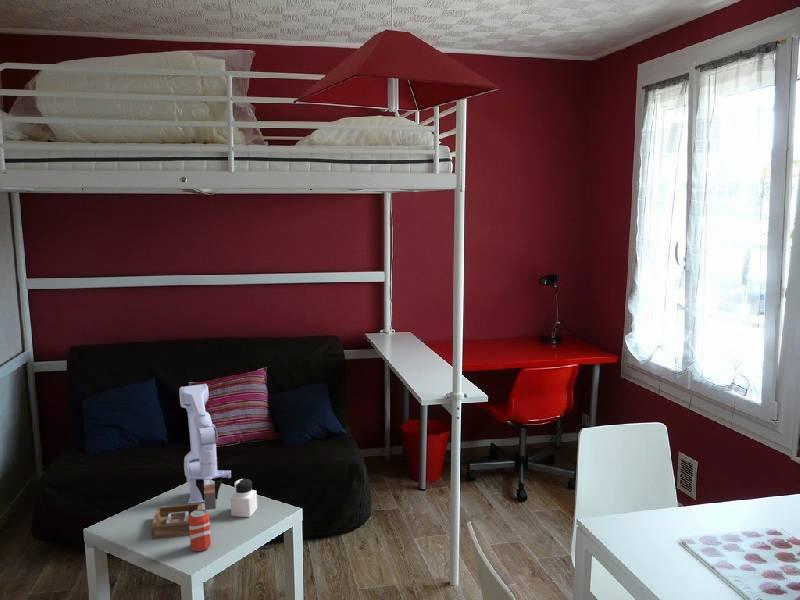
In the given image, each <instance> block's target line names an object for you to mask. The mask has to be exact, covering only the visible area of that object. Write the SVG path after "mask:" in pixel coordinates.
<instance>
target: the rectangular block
mask: <svg viewBox="0 0 800 600" xmlns="http://www.w3.org/2000/svg"><path fill="white" fill-rule="evenodd" d="M204 501H205V502H204V510H206V511H208V510H217V499H215V483H210V484H206V485H205V487H204Z"/></svg>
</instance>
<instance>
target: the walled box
mask: <svg viewBox="0 0 800 600" xmlns="http://www.w3.org/2000/svg"><path fill="white" fill-rule="evenodd" d="M199 509H203V507H202V502H200V503H190V504H189V503H187V504H177V505H165V506H158V507H157V508H156V511H155V514H154V517H153V521H152V523H151V526H150V527H151V528H150V530H151V539H153V540H154V538H155V539H162V538H163V539H164V538H173V537H180V536H188V535H189V536H190V531H189V518H190V516H191V515H190V514H191V512H193V511H195V510H199Z"/></svg>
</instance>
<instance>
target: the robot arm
mask: <svg viewBox="0 0 800 600" xmlns="http://www.w3.org/2000/svg"><path fill="white" fill-rule="evenodd" d="M178 392H179V404H180V407H181V408H184V409H186V413H187V418H188V429H189V430H188V431H189V443H190V451H189V452H188V453H187V454H186V455H185V456H184V459H183V461H184V462H183V468H184V476H185V477H186V483H189V494H190V495H189V497H188V498H189V499H188V504H194V503H205V501H204V487H205V485H206V484H211V483H210V482H211V480H213V479H214V484H215V499H216V500H218V498H219V497H218V496H219V495H218V494H219V491H220V487H221V485H222V484H223V483H222V482H223V478H227V479H231V478H232V470H224V469H223V470H221V469H220V470H218V457H217V443H218V431H217V428H216V425H215V424H213V422H212V417H211V415H210V413H209V412H207V411H206V407H205V406H206V405H207V402H208V400H209V396H210V395H209V394H210V393H209V386H208V385H207V383H203V384H195V385H187V386H186V385H185V386H180V388H179V391H178Z"/></svg>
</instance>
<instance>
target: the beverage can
mask: <svg viewBox="0 0 800 600" xmlns="http://www.w3.org/2000/svg"><path fill="white" fill-rule="evenodd" d="M190 515H191V516H190V518H189V531H190V535H189V542H190V543H189V545H190V549H191V550H192V551H195V552H203V551H205V550H207V549H208V548H210V547H211V544H212V541H211V526H210V524H211V523H210V522H211V521H210V515H209V513H208V510H205V509H203V508H202V509H199V510H195V511H193V512H191V514H190ZM202 550H203V551H202Z"/></svg>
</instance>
